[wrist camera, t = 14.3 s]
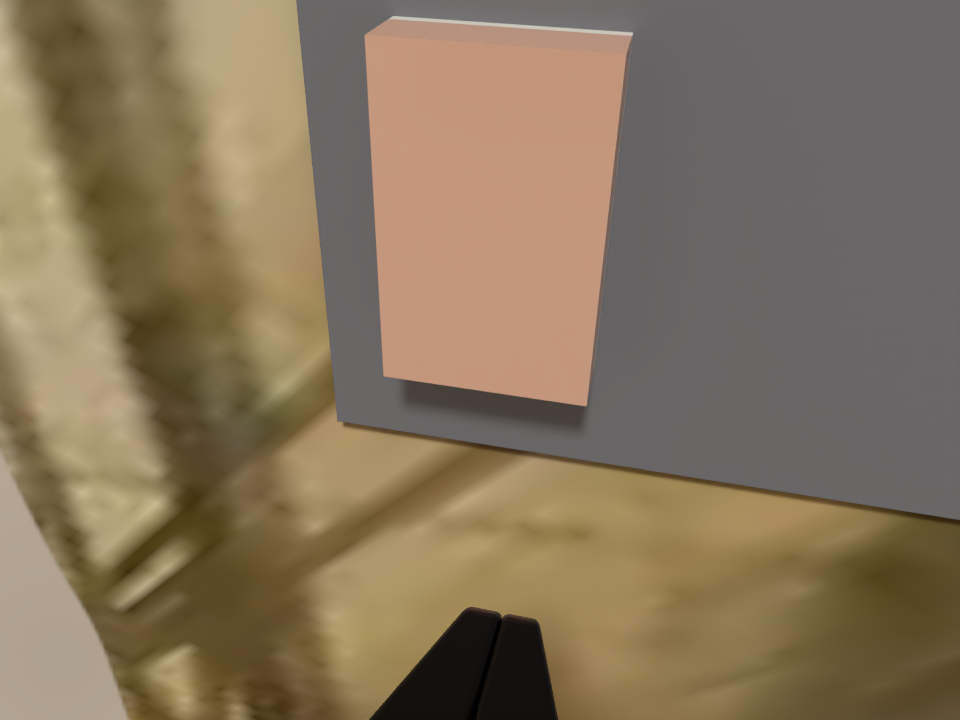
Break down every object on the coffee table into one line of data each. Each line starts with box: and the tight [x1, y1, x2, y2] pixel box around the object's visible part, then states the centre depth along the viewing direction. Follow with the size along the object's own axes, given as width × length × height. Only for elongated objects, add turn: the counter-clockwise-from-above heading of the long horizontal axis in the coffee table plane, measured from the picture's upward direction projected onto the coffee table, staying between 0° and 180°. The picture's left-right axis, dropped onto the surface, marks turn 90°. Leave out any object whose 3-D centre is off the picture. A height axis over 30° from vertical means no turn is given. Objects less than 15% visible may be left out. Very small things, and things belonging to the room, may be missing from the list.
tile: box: [365, 16, 633, 406], centre depth 18 cm, size 2×8×5 cm
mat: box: [296, 0, 960, 520], centre depth 18 cm, size 18×16×1 cm
